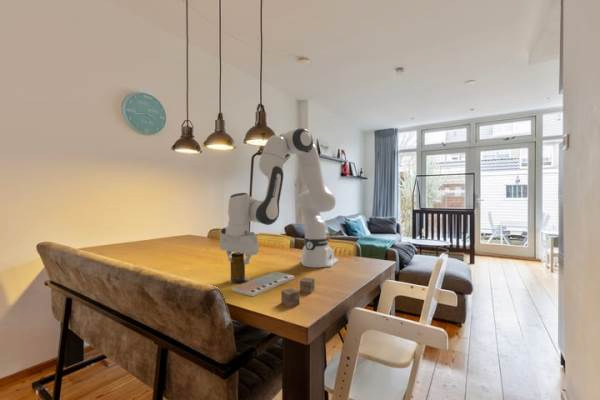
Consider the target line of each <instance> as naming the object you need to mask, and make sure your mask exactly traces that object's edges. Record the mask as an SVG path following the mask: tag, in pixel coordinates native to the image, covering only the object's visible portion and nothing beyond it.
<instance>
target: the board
mask: <svg viewBox="0 0 600 400" xmlns="http://www.w3.org/2000/svg"><path fill="white" fill-rule="evenodd" d="M294 279H295V275H293V274H288V273H286V272H285V273H284V272H279V271H274V272H271V273H268V274H266V275H265V274H264V275H263V276H259V277H257V278H255V279H251V280H250V281H249V282H246V283H243V284H241V283H240V284H239V285H236V286H233V287H232V288H231V289H232V290H231V291H232V292H235V293H239V294H242V295H247V296H250V297H256V296H257V295H259V294H263V292H266V291H268V290H271V289H273V288H275V287H278V286H280V285H282V284H284V283H287V282H288V281H292V280H294Z"/></svg>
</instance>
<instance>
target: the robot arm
mask: <svg viewBox="0 0 600 400" xmlns="http://www.w3.org/2000/svg"><path fill="white" fill-rule="evenodd" d="M260 155H261V156H260V158H259V163H258V168H259V170H260V172H261V173H262V174H263V175H264V176H265V177H267V180H268V182H267V188H266V193H265V197H264V199H263V200H258V199H255V198H253V197H252V196H250V195H249V194H248V193H247V192H238V193H237V192H236V193H234V194H231V196H229V199H228V209H227V211H228V212H227V215H228V221H227V222H228V223H227V225H228V226H225V227H222V228H220V229H219V233H220V236H219V247H220V250H221V251H226V255H227V259H228V260H227V261H229V262H231V257H232V256H231V255H232V254H233V253H243V254H245V255H244V257H245V258H244V264H245V266H246V265H249V264H250V259H251V257H252V256H255V255H257V254H258V253H259V242H258V241H259V240H258V237H257V236H258V235H256V233H255V232H253V231H250V222H255V223H260V224H262V225H267V226H270V225H272V224H274V223H275V222H276V221H277V220H278V218H279V215H280V198H281V193H282V187H283V183H284V182H283V181H284V170H283V168H284V164H285V161H286V156H287V155H296V157H297V158H298V167H299V173H300V178H301V179H300V181H301V182H302V183H303V184H304V186H305V187H306V189H307V190H305V191H303V192H301V193H299V194H298V196H297V197H296V204H297V206H298V208H299V209H300V211H301V214H302V217H303V221H304V222H303V223H304V238H303V244H304V245H303V247H302V252H301V253H302V254H301V259H300V260H299V261H300V262H299V263H300V264H301V265H302V266H303V267H308V268H332V267H333V266H335V264H337V263H338V262H339V258H338V257H337V258H336V257H335V252H334V249H333V248H332V247H330V245H329V243H328V242H330V240H331V239H330V237H327V223H326V221H325V220H324V219H323V217H322V214H321V213H327V212H330V211H332V210H333V209H334V208H335V206H336V202H337V201H336V197H335V195H334V194H333V193H332V192H331V191H330V189H328V187H327V184H326V182H325V181H324V178H323V172H322V167H321V159H320V155H319V152H318V148H317V145H316V144H314V139H313V136H312V134H311V132H310V131H309V130H308V129H306V128H297V129H291V130H289V131H288V132H284V133H281V134H280V135H276V134H275V135H271V136H270V137H269V138H268V140H267V141H266V143H265V145H264V147H263V149H262V153H261V154H260Z"/></svg>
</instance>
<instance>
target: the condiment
mask: <svg viewBox="0 0 600 400" xmlns="http://www.w3.org/2000/svg"><path fill="white" fill-rule="evenodd" d="M231 254H232V255H231V256H232V257H231V261H230V279H229V281H227V284H240V285H241V284H243V283H246V282H249V281H252V278H247V277H246V270H245V269H246V264H244V260H245V255H244V254H243V253H237V252H232V253H231Z"/></svg>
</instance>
